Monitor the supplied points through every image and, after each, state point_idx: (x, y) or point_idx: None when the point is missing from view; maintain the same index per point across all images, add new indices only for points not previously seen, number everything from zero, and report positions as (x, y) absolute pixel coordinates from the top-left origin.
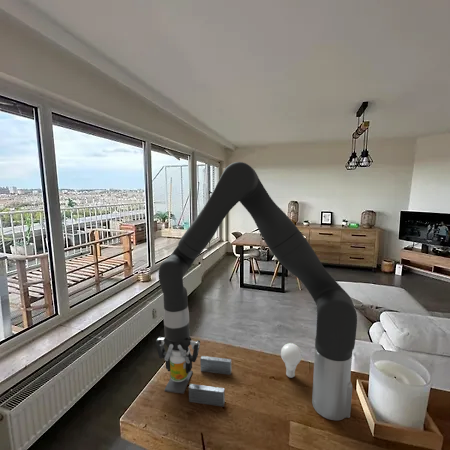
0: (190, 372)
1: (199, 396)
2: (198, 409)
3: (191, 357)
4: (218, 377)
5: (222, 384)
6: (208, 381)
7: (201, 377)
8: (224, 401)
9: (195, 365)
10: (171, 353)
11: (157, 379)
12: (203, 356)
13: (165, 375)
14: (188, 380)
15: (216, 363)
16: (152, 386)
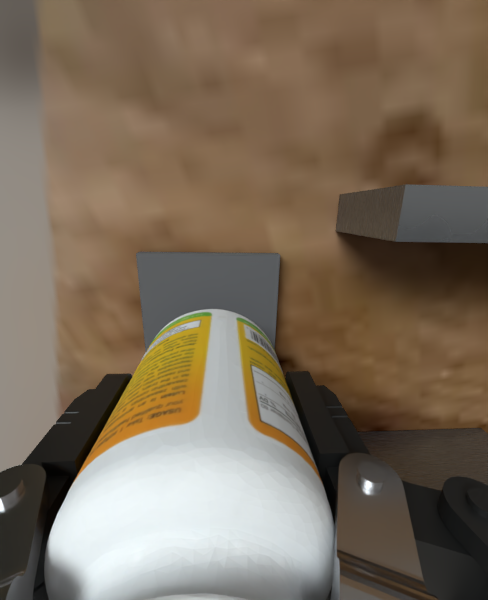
0: (268, 272)
1: None
2: None
3: (426, 586)
4: (461, 271)
5: (481, 324)
6: (397, 315)
7: (348, 289)
8: (485, 433)
9: (282, 169)
10: (38, 548)
11: (61, 353)
12: (428, 191)
13: (94, 312)
14: (274, 346)
15: None
16: (66, 406)
